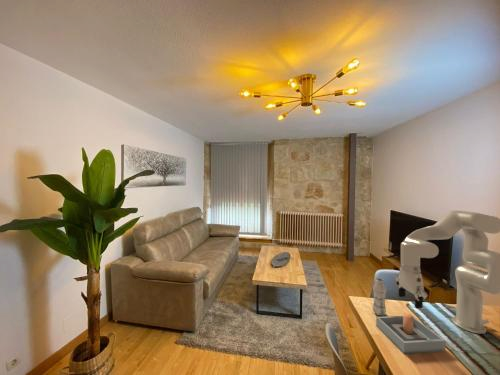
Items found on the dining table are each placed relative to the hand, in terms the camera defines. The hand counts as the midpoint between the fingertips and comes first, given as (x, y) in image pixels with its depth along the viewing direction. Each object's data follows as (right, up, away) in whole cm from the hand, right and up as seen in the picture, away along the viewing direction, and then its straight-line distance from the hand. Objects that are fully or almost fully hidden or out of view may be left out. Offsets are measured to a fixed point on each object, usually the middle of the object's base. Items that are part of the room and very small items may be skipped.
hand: (410, 301), depth 103 cm
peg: (-1, -17, 0) cm, 17 cm away
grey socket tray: (-1, -18, 0) cm, 18 cm away
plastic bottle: (-3, -18, +19) cm, 26 cm away
